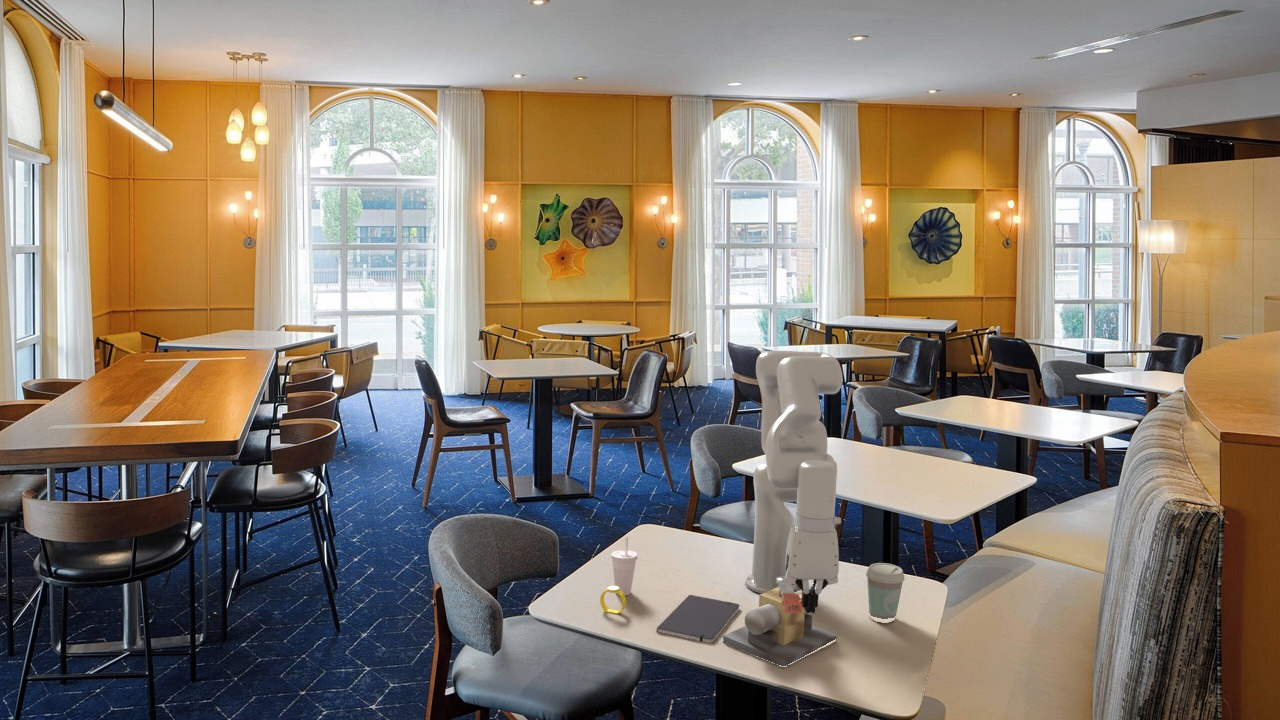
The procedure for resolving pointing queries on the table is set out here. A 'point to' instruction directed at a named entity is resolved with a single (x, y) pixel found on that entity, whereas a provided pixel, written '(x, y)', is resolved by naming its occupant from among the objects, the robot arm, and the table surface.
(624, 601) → the watch
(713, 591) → the table surface
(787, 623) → the valve stand
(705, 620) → the notebook
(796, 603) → the lever
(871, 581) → the coffee cup
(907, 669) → the table surface
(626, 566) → the smoothie
